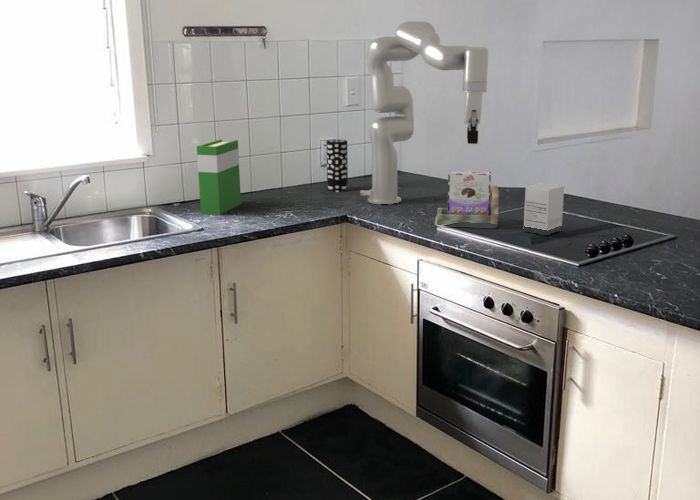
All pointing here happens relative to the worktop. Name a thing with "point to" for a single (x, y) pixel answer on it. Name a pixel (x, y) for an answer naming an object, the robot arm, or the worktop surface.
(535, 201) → the supplement box
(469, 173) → the candy box
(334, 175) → the white-spotted black cylinder
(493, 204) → the khaki l-shaped bracket
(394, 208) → the worktop surface
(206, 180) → the hardback book
